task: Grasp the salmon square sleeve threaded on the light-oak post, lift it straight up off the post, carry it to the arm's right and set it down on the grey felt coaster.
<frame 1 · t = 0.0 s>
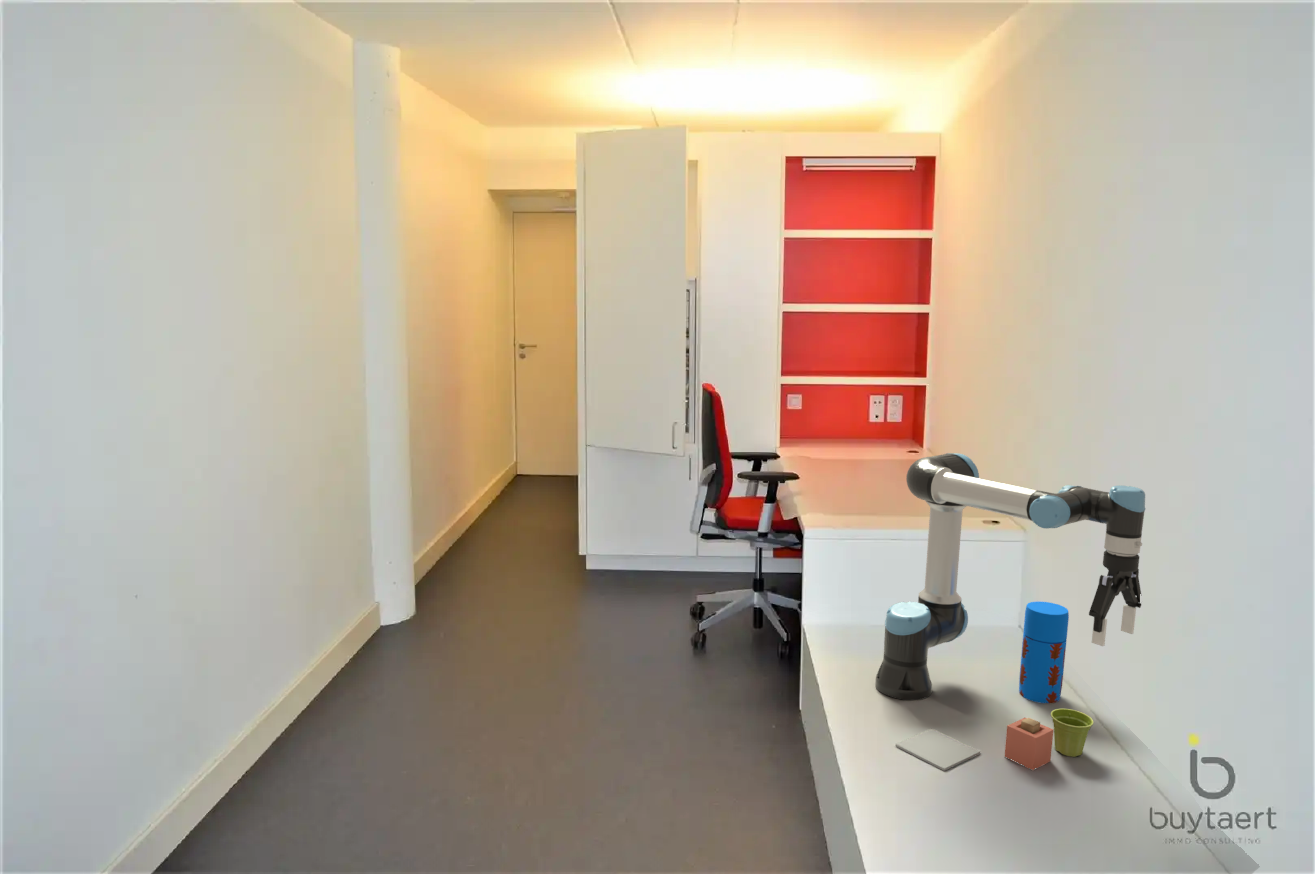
hand: (1112, 638, 220), 28 cm above the table, fingers open, 13 cm apart
coaster: (937, 749, 222), on the table
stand: (1027, 759, 218), on the table
plant pot: (1068, 751, 223), on the table
salmon square sleeve: (1027, 759, 218), on the table
thermos: (1039, 695, 253), on the table
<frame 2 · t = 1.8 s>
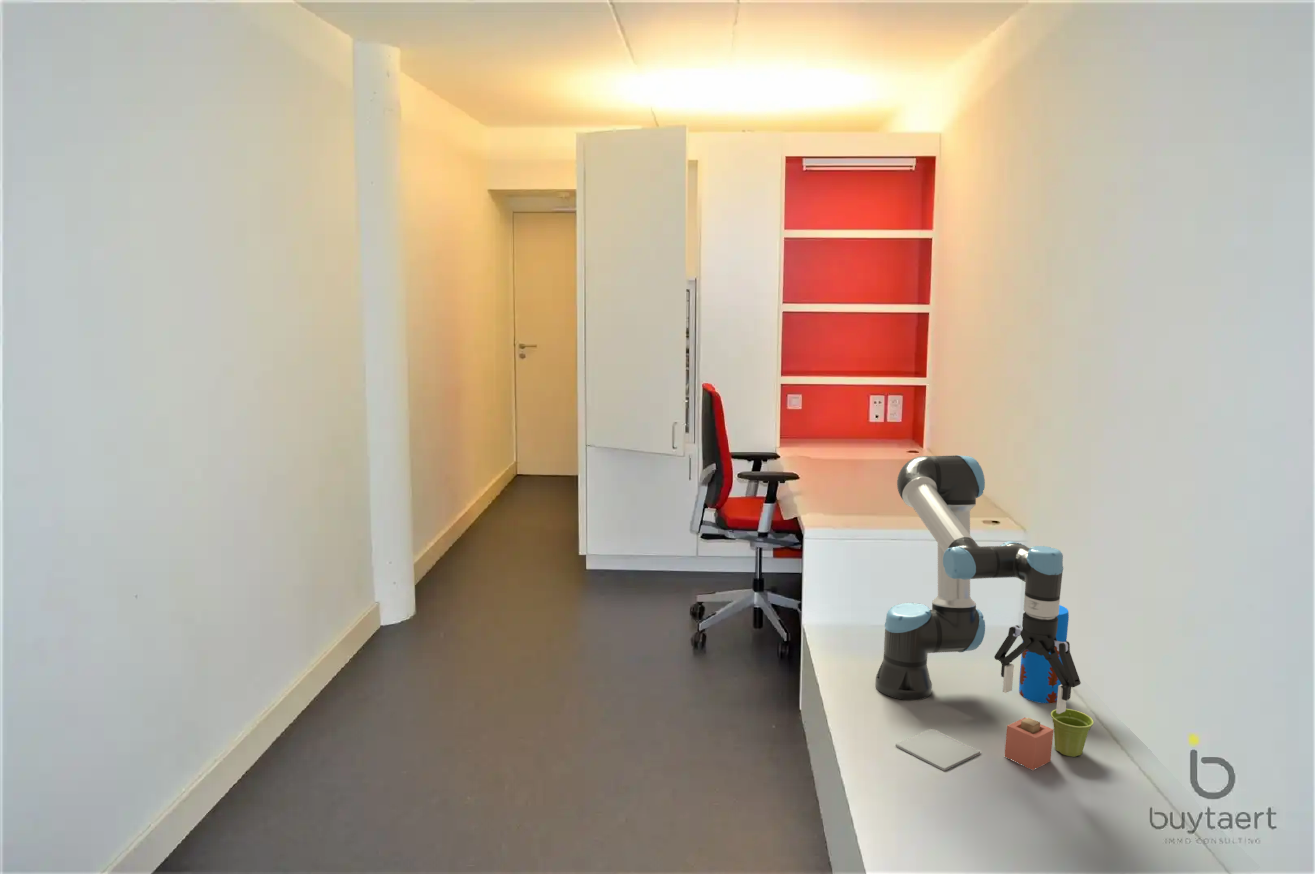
hand: (1033, 701, 216), 15 cm above the table, fingers open, 13 cm apart
nothing on the table moved.
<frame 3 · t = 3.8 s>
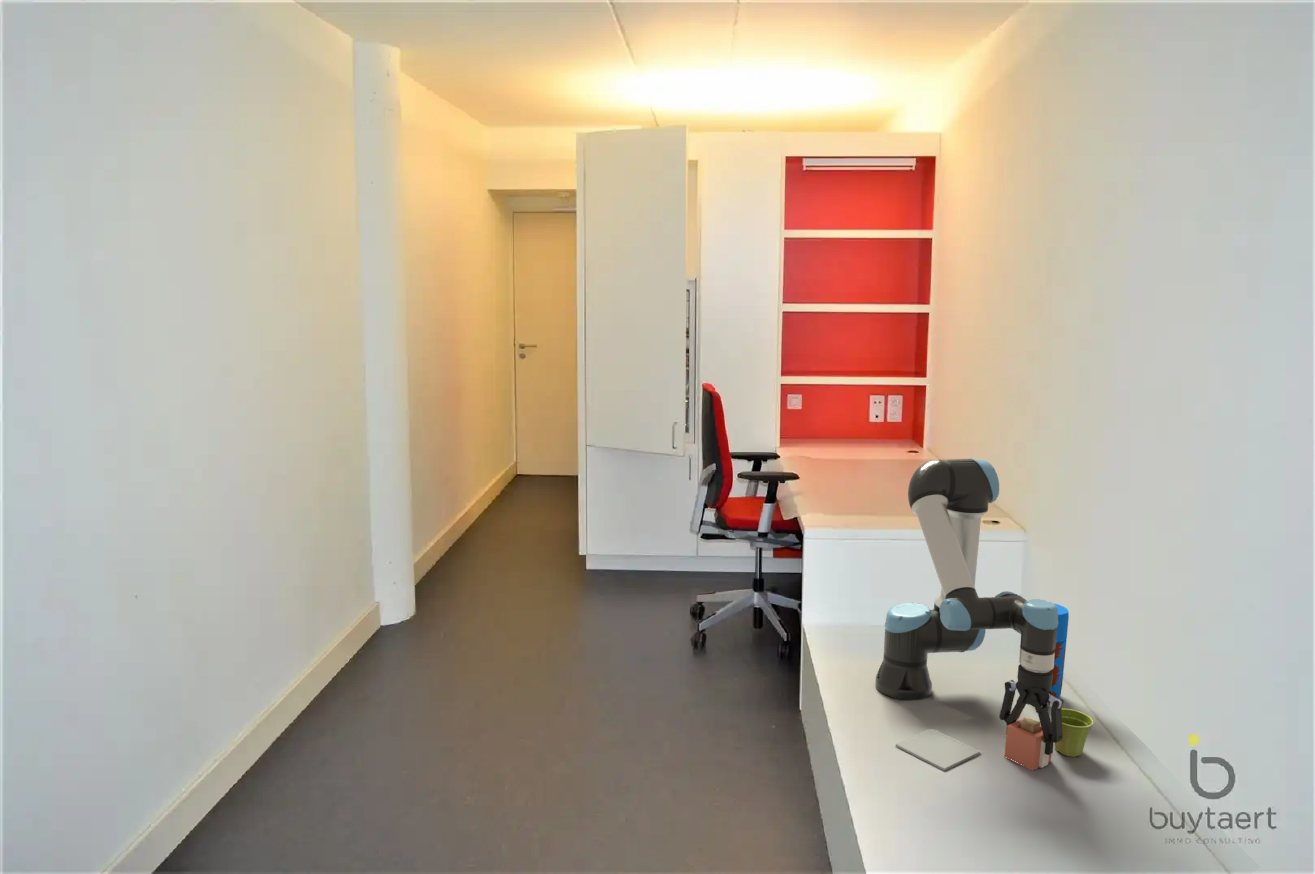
hand: (1027, 758, 218), 0 cm above the table, fingers closed on salmon square sleeve, 7 cm apart
salmon square sleeve: (1027, 759, 218), on the table, touching gripper
everything else where it was.
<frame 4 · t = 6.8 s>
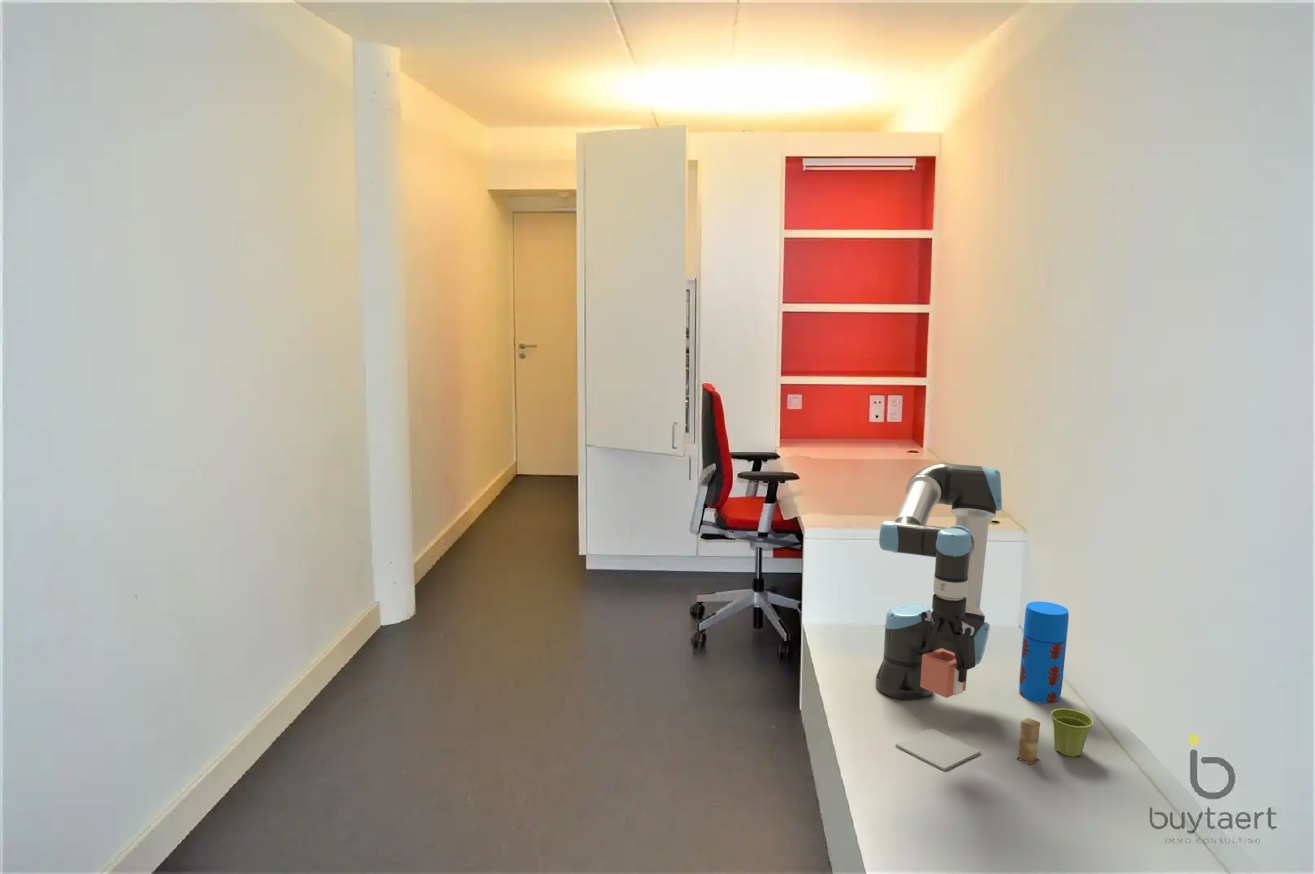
hand: (942, 687, 219), 16 cm above the table, fingers closed on salmon square sleeve, 7 cm apart
salmon square sleeve: (942, 688, 219), point 16 cm above the table, touching gripper
everything else where it was.
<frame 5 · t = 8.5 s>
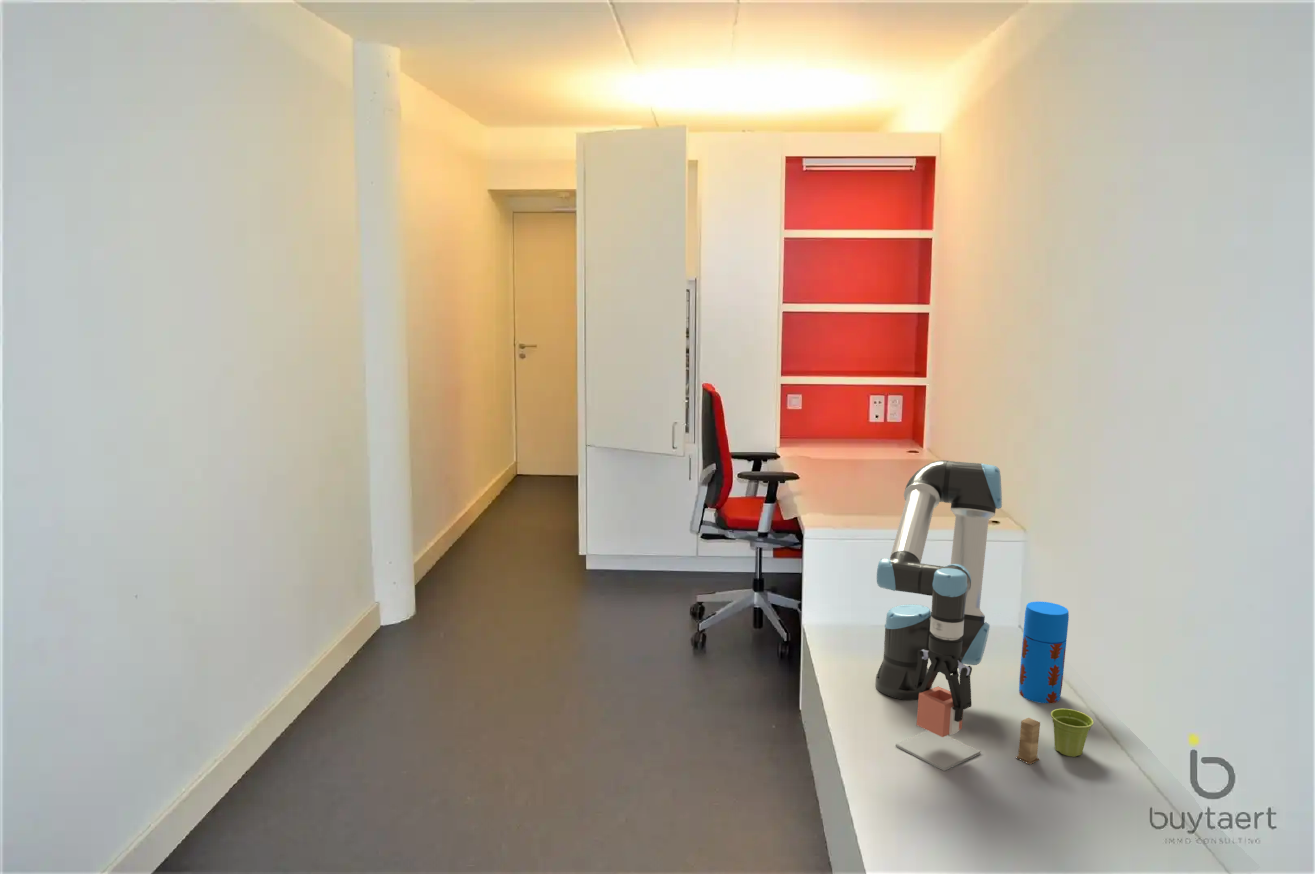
hand: (939, 725, 221), 6 cm above the table, fingers closed on salmon square sleeve, 7 cm apart
salmon square sleeve: (939, 726, 221), point 6 cm above the table, touching gripper
everything else where it was.
when the fingers open (2 cm above the table, at t = 9.8 s): salmon square sleeve drops 1 cm, resting on coaster.
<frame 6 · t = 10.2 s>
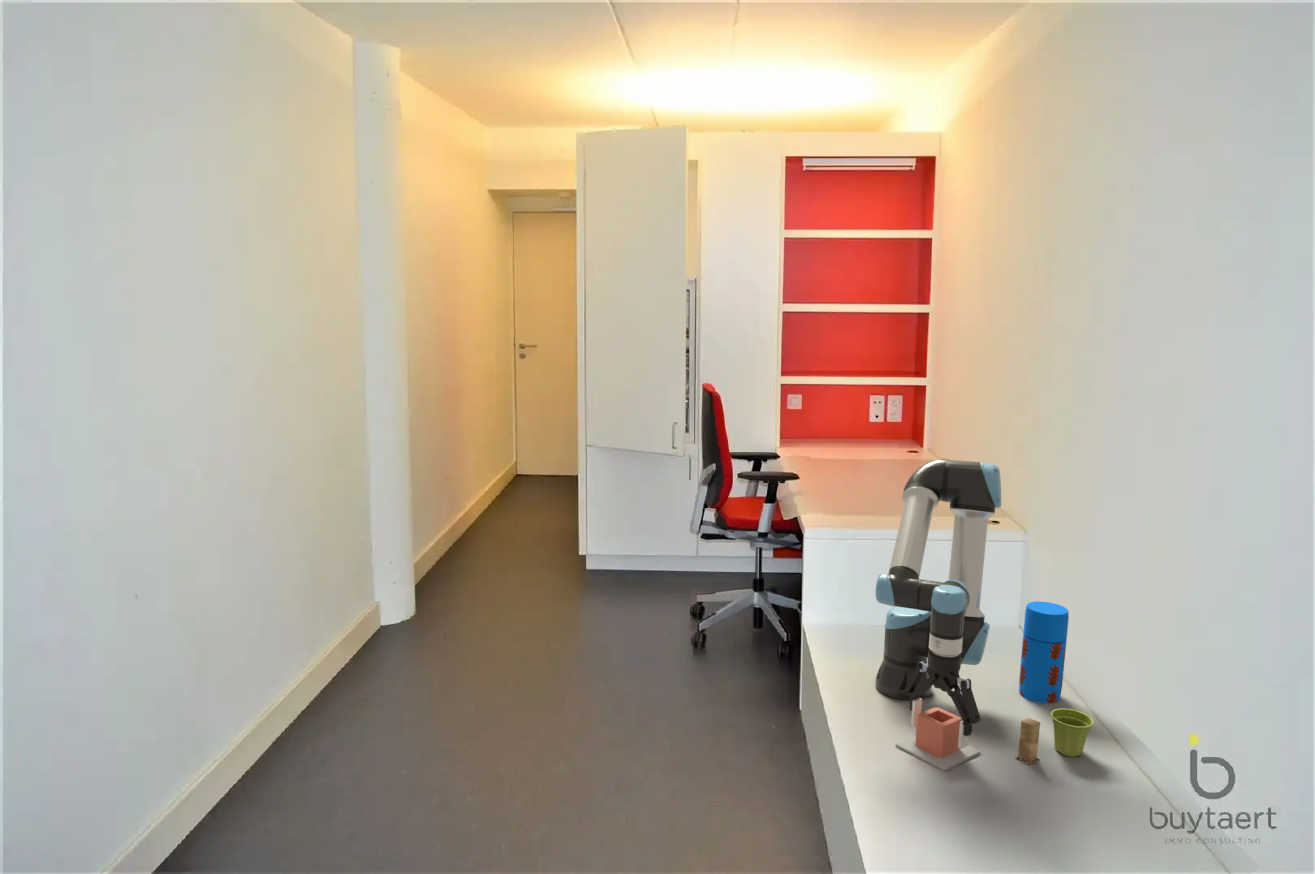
hand: (938, 735, 221), 4 cm above the table, fingers open, 13 cm apart
salmon square sleeve: (937, 747, 222), point 1 cm above the table, touching coaster
everything else where it was.
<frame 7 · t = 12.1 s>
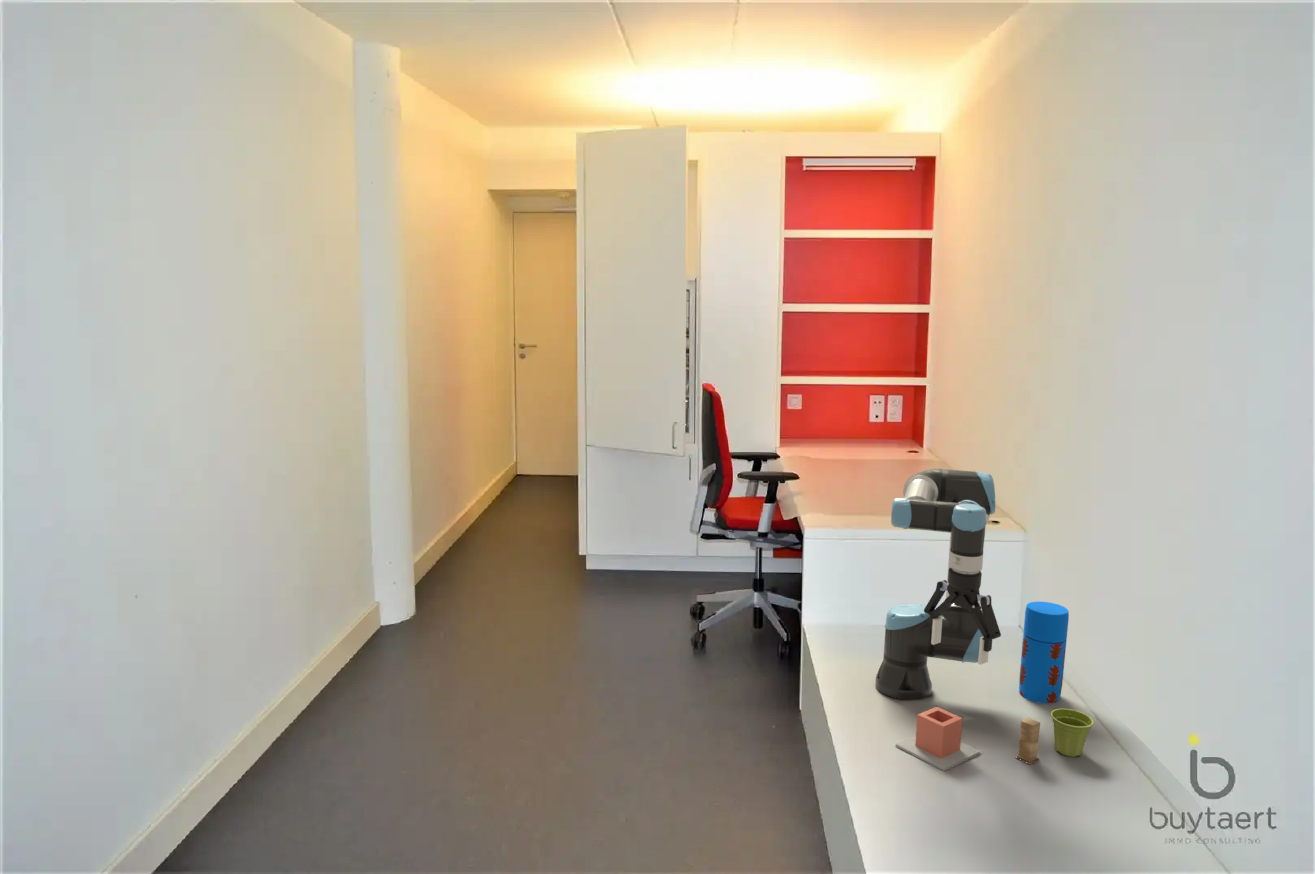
hand: (958, 652, 224), 22 cm above the table, fingers open, 13 cm apart
nothing on the table moved.
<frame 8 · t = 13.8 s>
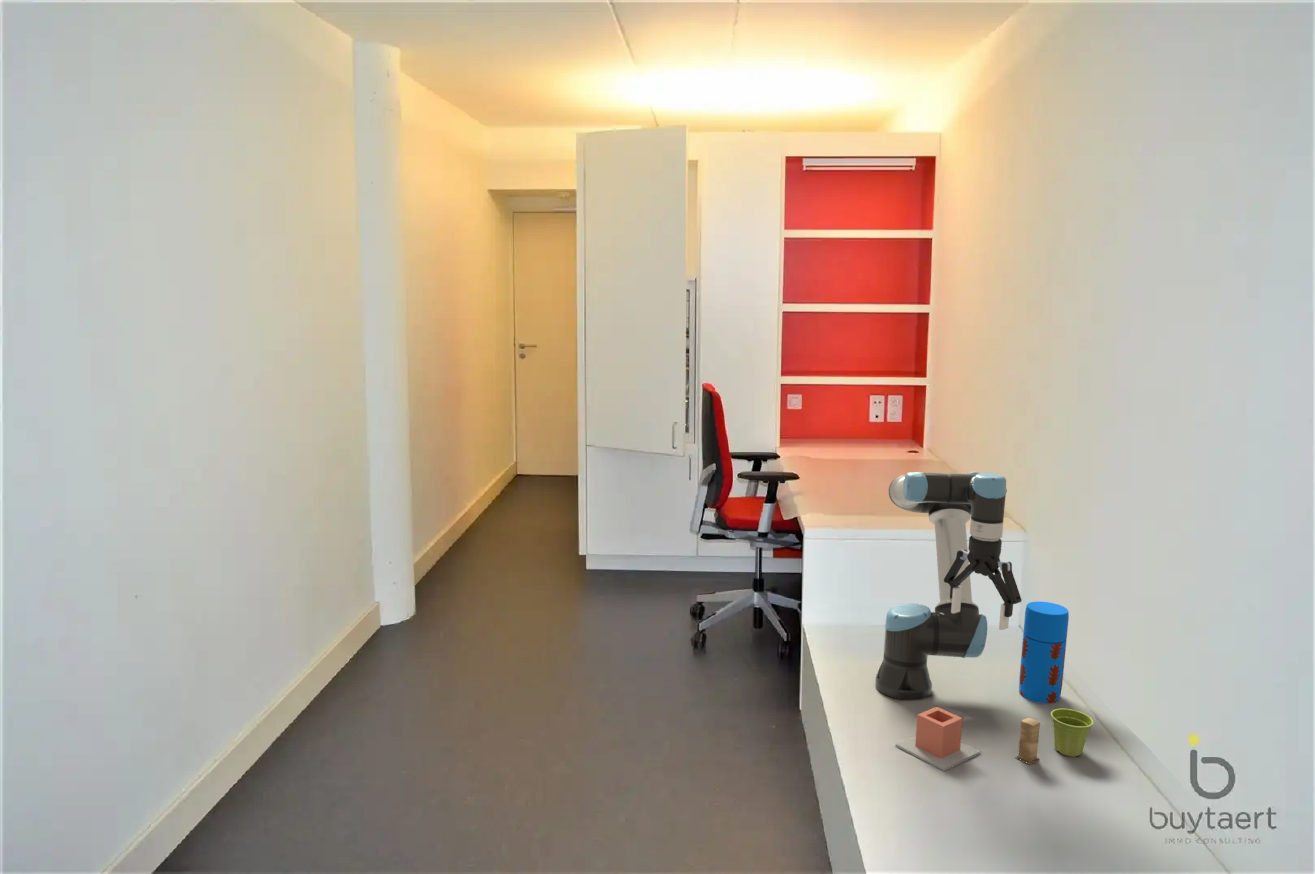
hand: (978, 620, 228), 29 cm above the table, fingers open, 13 cm apart
nothing on the table moved.
at the end: salmon square sleeve inside the target area on the coaster (0.0 cm from its centre), point 0.6 cm above the coaster's base; salmon square sleeve tilted 0°; the gripper is holding nothing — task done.
